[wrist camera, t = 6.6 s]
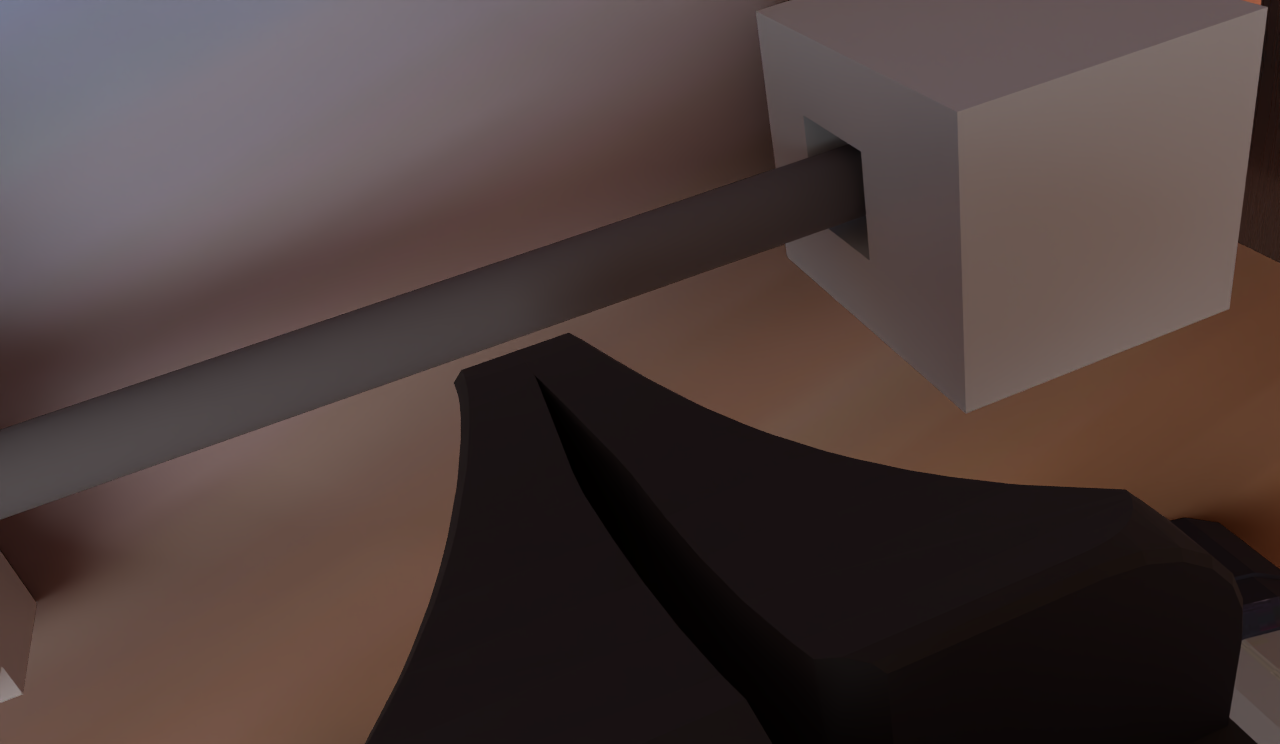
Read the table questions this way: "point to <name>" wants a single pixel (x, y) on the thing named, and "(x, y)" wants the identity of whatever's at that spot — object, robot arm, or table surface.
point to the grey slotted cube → (1021, 172)
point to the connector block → (1265, 150)
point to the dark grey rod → (420, 329)
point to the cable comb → (14, 631)
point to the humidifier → (1250, 628)
